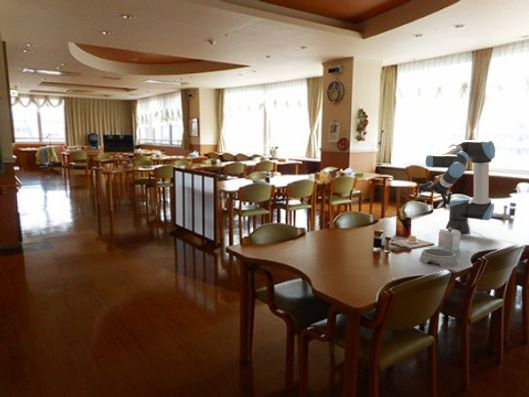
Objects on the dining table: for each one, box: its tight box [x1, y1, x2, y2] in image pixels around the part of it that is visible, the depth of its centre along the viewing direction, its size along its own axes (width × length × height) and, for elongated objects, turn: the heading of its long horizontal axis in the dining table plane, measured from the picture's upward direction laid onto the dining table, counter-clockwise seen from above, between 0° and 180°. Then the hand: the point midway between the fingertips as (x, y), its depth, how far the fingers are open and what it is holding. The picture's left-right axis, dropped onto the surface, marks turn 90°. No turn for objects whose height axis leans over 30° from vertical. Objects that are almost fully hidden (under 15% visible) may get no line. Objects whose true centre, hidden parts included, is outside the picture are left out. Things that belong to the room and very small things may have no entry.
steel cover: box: [437, 228, 462, 252], centre depth 222 cm, size 11×11×13 cm
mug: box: [395, 216, 412, 238], centre depth 256 cm, size 10×14×12 cm
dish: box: [406, 234, 418, 244], centre depth 234 cm, size 7×7×5 cm
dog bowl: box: [419, 248, 458, 268], centre depth 202 cm, size 17×18×5 cm
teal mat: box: [427, 245, 471, 254], centre depth 223 cm, size 16×16×1 cm
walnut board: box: [391, 238, 435, 250], centre depth 235 cm, size 20×16×2 cm
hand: (428, 201), depth 239 cm, fingers open, 13 cm apart
